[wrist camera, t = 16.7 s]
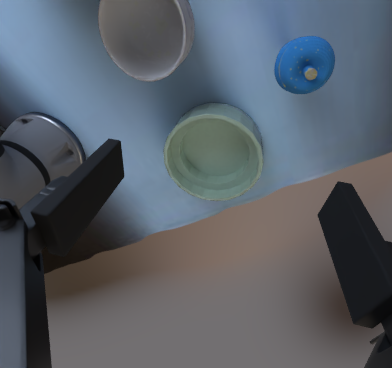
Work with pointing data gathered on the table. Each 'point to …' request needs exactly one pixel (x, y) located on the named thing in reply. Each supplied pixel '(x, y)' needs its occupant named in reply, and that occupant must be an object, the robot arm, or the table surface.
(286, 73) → the ornament
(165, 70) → the teacup
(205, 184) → the bowl
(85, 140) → the table surface
